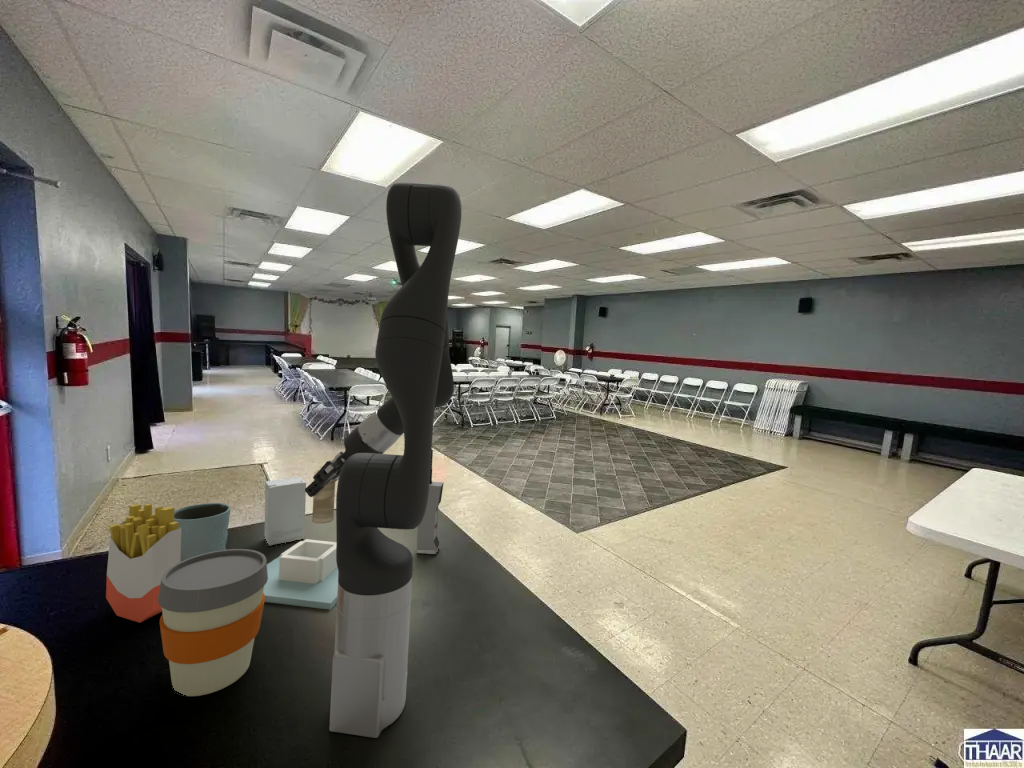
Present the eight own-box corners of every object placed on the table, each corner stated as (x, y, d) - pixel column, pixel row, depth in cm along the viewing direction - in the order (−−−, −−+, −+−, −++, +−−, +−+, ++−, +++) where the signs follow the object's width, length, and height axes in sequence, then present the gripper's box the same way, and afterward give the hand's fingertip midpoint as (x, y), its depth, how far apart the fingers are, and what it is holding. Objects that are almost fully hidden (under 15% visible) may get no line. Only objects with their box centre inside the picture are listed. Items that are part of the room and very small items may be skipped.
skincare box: (299, 532, 107) (302, 475, 107) (305, 540, 102) (308, 481, 102) (262, 539, 102) (264, 479, 101) (266, 548, 97) (269, 485, 97)
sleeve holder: (330, 609, 75) (331, 578, 75) (227, 597, 77) (228, 567, 76) (376, 560, 95) (378, 535, 95) (294, 551, 97) (295, 527, 96)
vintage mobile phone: (437, 555, 99) (442, 451, 98) (416, 554, 99) (421, 450, 98) (440, 548, 103) (445, 448, 102) (419, 547, 103) (425, 447, 102)
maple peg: (326, 524, 83) (329, 475, 83) (308, 522, 84) (310, 473, 83) (337, 517, 87) (339, 470, 87) (319, 515, 88) (321, 469, 87)
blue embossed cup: (239, 558, 91) (241, 505, 91) (201, 581, 81) (203, 521, 81) (197, 554, 92) (199, 500, 92) (153, 576, 82) (156, 516, 82)
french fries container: (149, 627, 67) (153, 518, 66) (102, 613, 70) (105, 508, 69) (178, 612, 71) (182, 509, 71) (133, 599, 74) (137, 500, 74)
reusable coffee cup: (246, 631, 67) (250, 541, 67) (278, 670, 60) (283, 568, 59) (144, 672, 58) (148, 566, 57) (167, 725, 50) (172, 603, 49)
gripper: (377, 418, 91) (322, 468, 93) (344, 427, 77) (280, 485, 79) (399, 444, 91) (344, 494, 92) (369, 457, 77) (305, 516, 78)
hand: (315, 490), depth 86 cm, fingers closed on maple peg, 4 cm apart
